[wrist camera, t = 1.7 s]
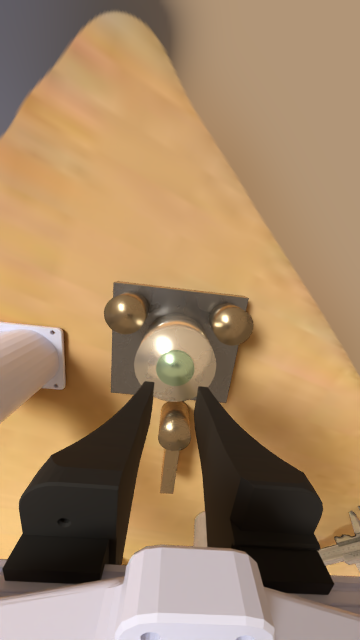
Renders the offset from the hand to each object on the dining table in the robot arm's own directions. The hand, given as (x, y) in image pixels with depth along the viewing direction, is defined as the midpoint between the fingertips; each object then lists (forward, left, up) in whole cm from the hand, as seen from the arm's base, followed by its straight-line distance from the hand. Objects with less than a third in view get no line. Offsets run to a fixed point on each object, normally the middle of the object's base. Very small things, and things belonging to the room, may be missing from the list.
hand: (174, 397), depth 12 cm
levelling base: (+1, -6, -10) cm, 12 cm away
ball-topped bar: (+1, -14, -10) cm, 17 cm away
